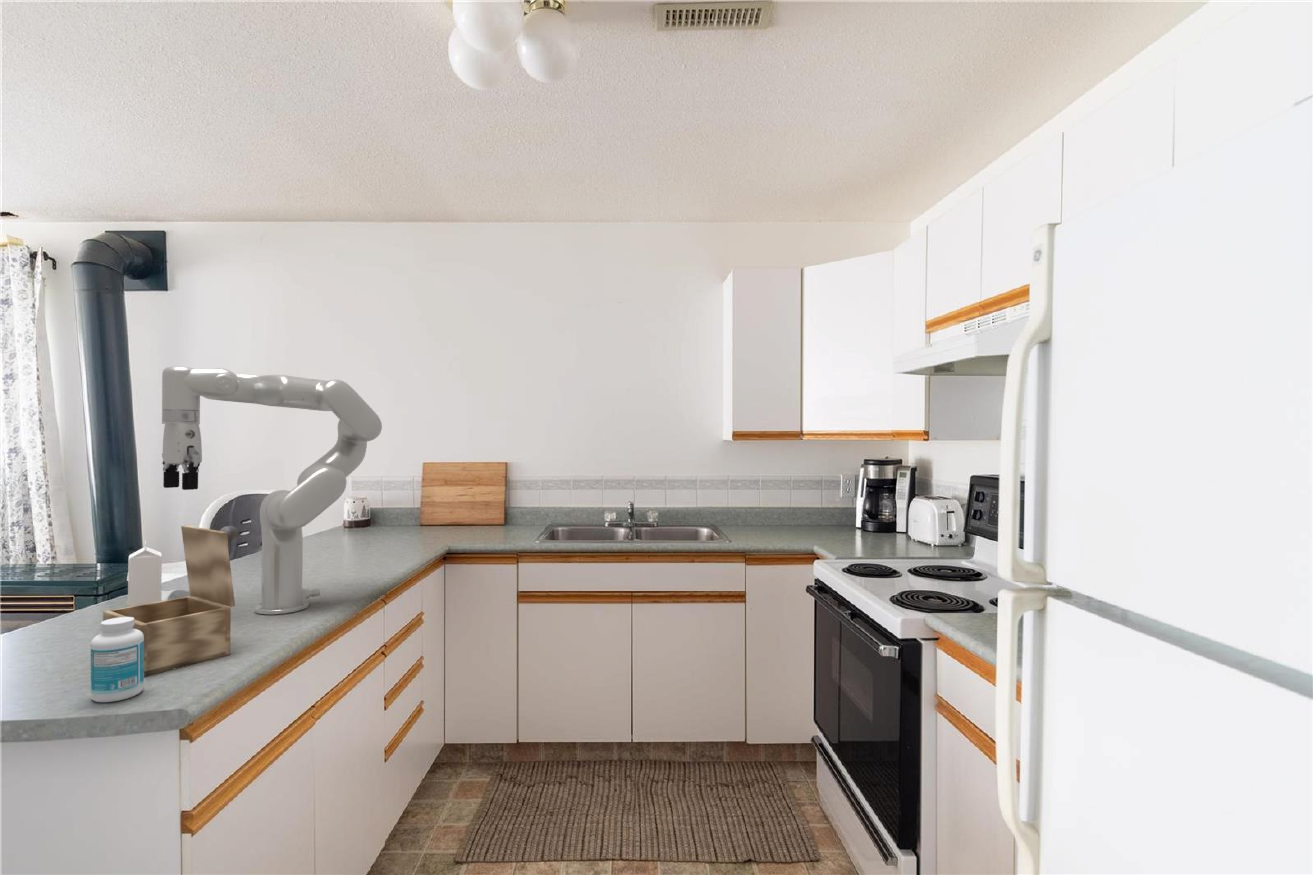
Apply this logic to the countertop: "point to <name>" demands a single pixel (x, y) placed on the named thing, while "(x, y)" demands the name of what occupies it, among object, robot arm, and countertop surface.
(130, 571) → the milk
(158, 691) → the countertop surface
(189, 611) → the wooden box
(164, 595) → the spoon rest
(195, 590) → the flap
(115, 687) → the pill bottle
